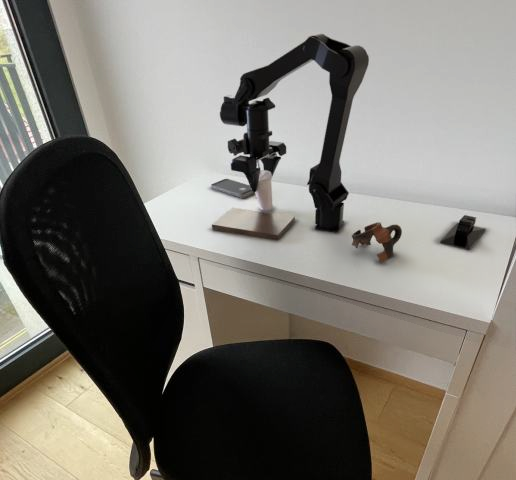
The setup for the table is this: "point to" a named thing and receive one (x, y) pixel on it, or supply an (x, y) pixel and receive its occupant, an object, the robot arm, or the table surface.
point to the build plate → (463, 233)
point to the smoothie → (264, 189)
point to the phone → (233, 188)
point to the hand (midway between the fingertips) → (261, 187)
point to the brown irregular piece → (378, 238)
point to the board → (254, 223)
